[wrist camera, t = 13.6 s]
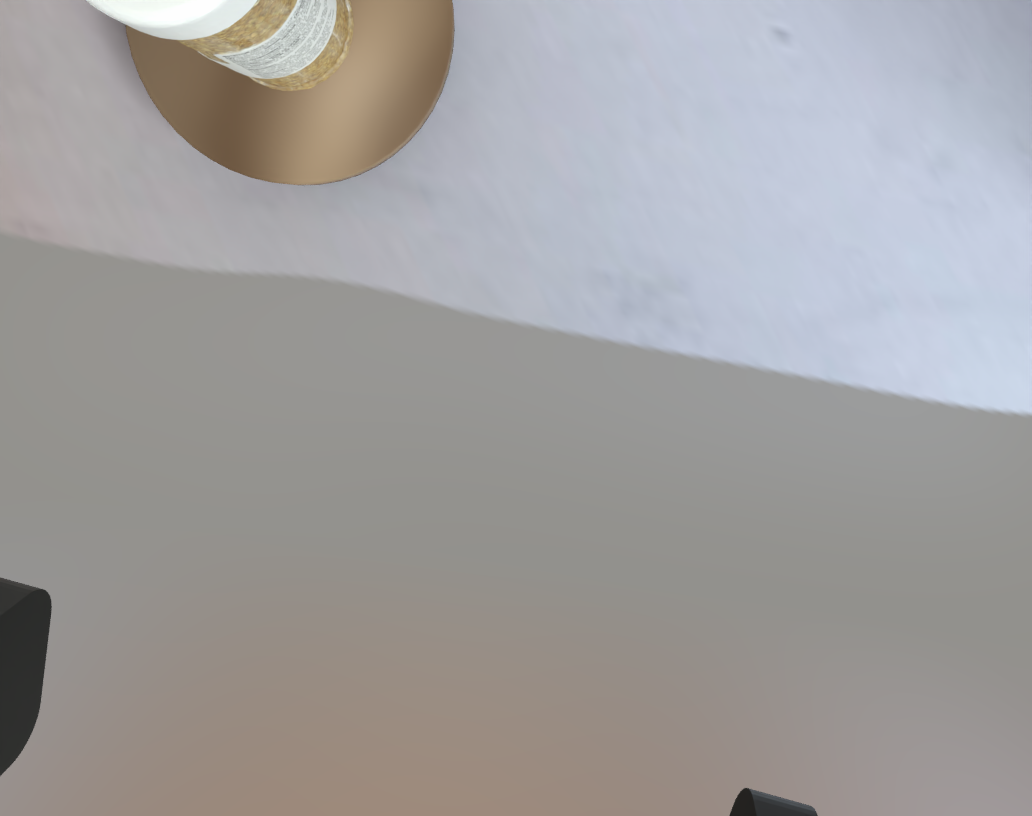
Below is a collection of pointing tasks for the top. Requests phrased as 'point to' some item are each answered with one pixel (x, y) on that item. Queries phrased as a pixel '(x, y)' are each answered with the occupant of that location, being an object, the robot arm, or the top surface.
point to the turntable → (309, 97)
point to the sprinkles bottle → (251, 34)
